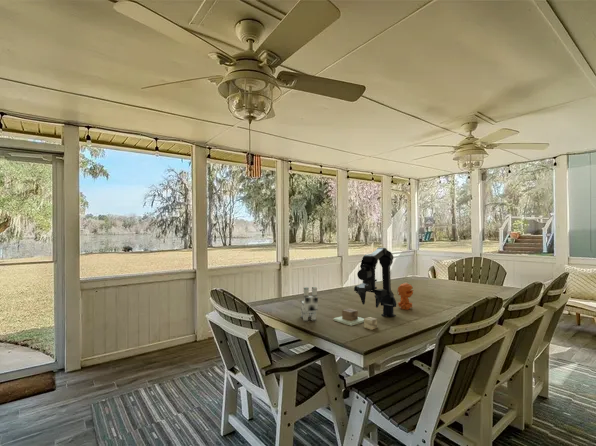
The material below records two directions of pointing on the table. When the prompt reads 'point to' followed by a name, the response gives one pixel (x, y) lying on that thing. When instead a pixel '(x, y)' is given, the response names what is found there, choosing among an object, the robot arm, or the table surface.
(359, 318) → the plate
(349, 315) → the walnut block
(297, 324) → the table surface
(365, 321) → the maple block
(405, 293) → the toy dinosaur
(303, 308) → the toy rabbit
